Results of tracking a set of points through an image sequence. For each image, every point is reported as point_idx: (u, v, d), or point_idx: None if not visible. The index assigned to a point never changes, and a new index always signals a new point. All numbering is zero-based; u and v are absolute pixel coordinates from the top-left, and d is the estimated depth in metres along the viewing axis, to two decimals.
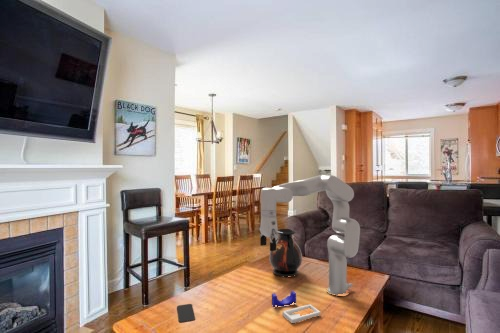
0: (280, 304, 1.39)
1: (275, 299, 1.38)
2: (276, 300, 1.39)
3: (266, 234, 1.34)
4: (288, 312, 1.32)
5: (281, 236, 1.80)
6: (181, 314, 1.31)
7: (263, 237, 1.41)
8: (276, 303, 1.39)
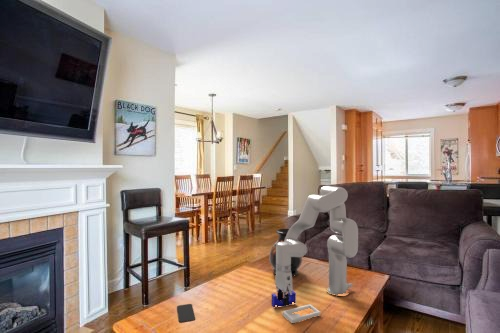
0: (280, 304, 1.39)
1: (275, 299, 1.38)
2: (276, 300, 1.38)
3: (282, 288, 1.39)
4: (288, 312, 1.32)
5: (281, 236, 1.80)
6: (181, 314, 1.31)
7: (280, 292, 1.44)
8: (276, 303, 1.38)
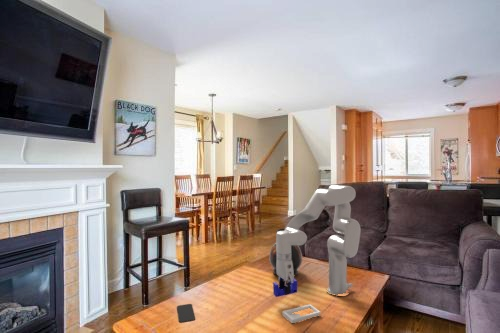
0: (282, 292, 1.40)
1: (277, 288, 1.39)
2: (278, 289, 1.39)
3: (283, 277, 1.39)
4: (288, 312, 1.32)
5: None
6: (181, 314, 1.31)
7: (281, 281, 1.45)
8: (278, 292, 1.39)
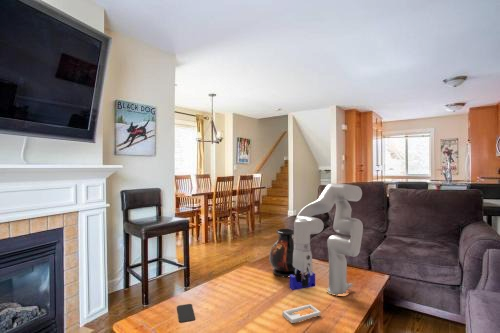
0: (299, 286, 1.28)
1: (294, 280, 1.27)
2: (295, 281, 1.28)
3: (301, 269, 1.28)
4: (288, 312, 1.32)
5: (281, 236, 1.80)
6: (181, 314, 1.31)
7: (298, 274, 1.33)
8: (295, 284, 1.28)
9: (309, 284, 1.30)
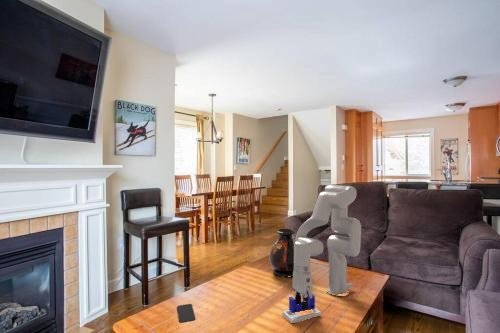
0: (298, 308, 1.28)
1: (293, 303, 1.27)
2: (294, 304, 1.28)
3: (301, 291, 1.28)
4: (288, 312, 1.32)
5: (281, 236, 1.80)
6: (181, 314, 1.31)
7: (298, 296, 1.33)
8: (294, 307, 1.27)
9: (309, 306, 1.30)
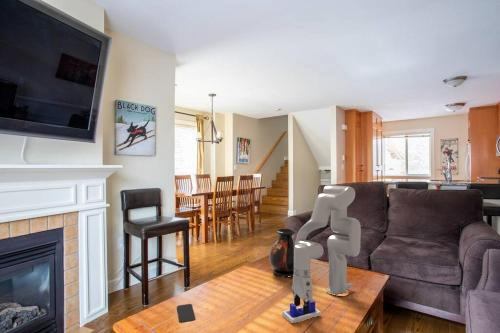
0: (299, 314, 1.28)
1: (294, 309, 1.27)
2: (295, 310, 1.27)
3: (301, 295, 1.28)
4: (288, 312, 1.32)
5: (281, 236, 1.80)
6: (181, 314, 1.31)
7: (297, 297, 1.34)
8: (295, 314, 1.27)
9: (309, 312, 1.30)
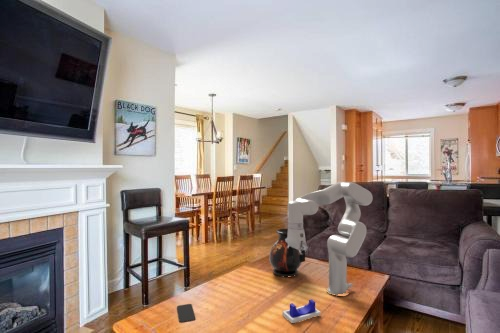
0: (299, 315, 1.28)
1: (294, 310, 1.27)
2: (295, 311, 1.27)
3: (295, 246, 1.39)
4: (288, 312, 1.32)
5: (281, 236, 1.80)
6: (181, 314, 1.31)
7: (290, 248, 1.46)
8: (295, 314, 1.27)
9: (309, 313, 1.30)
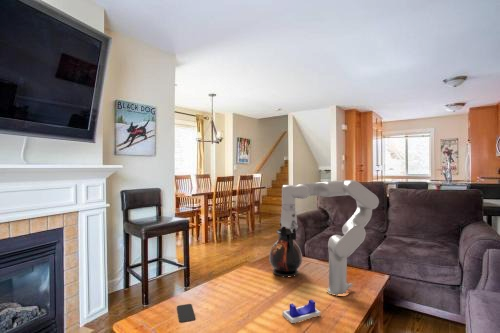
0: (299, 315, 1.28)
1: (294, 310, 1.27)
2: (295, 311, 1.27)
3: (287, 225, 1.53)
4: (288, 312, 1.32)
5: (281, 236, 1.80)
6: (181, 314, 1.31)
7: (283, 228, 1.60)
8: (295, 314, 1.27)
9: (309, 313, 1.30)
